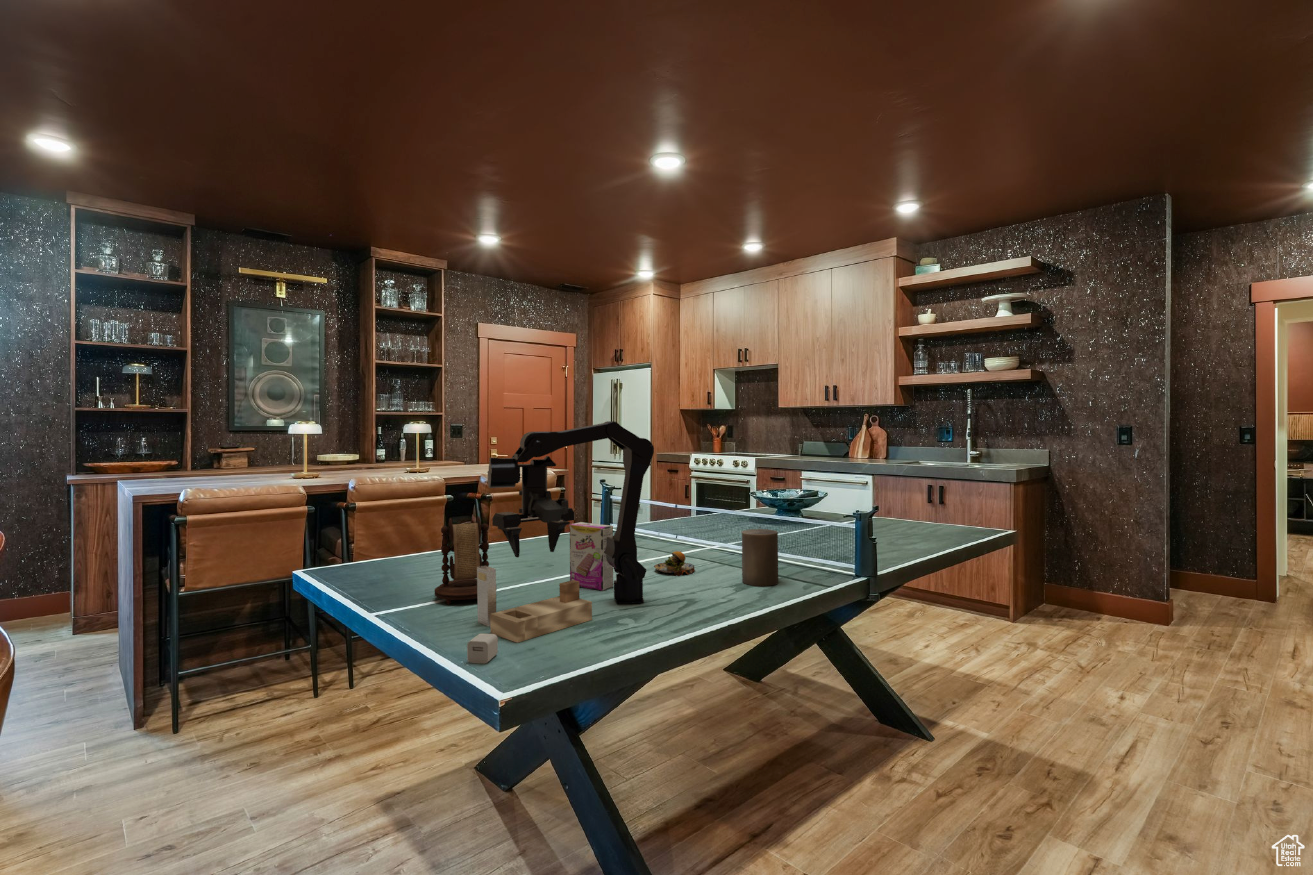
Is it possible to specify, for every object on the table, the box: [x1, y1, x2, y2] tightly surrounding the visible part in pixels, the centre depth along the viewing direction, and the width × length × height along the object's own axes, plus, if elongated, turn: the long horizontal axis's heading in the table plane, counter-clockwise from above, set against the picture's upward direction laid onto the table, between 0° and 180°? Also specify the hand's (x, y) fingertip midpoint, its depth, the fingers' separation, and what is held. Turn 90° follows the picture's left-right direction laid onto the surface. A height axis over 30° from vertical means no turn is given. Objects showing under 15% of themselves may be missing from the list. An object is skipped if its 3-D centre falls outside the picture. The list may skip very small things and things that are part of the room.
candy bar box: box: [569, 521, 614, 592], centre depth 176 cm, size 11×5×16 cm, turn 58°
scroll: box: [434, 516, 497, 606], centre depth 166 cm, size 15×15×20 cm
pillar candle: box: [741, 526, 779, 587], centre depth 180 cm, size 10×10×15 cm
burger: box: [653, 550, 696, 577], centre depth 194 cm, size 12×12×8 cm
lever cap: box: [476, 566, 497, 627], centre depth 145 cm, size 2×4×12 cm, turn 43°
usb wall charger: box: [466, 633, 499, 664], centre depth 125 cm, size 4×7×4 cm, turn 171°
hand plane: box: [490, 580, 593, 644], centre depth 143 cm, size 20×9×8 cm, turn 138°
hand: (534, 554), depth 154 cm, fingers open, 9 cm apart
